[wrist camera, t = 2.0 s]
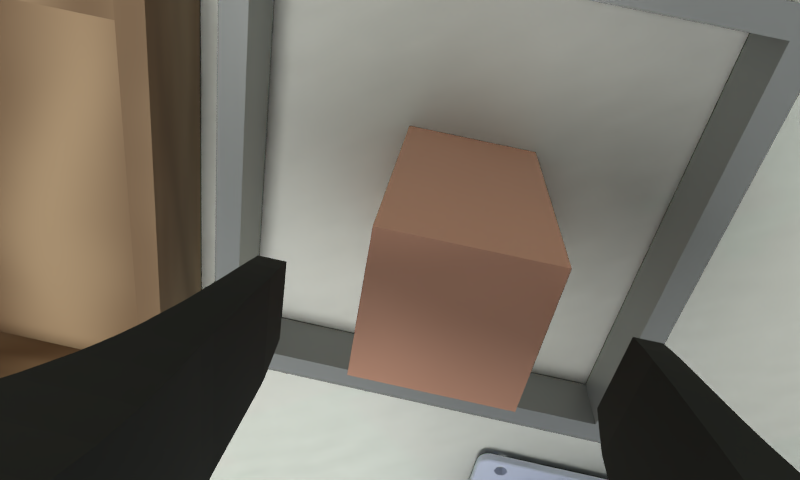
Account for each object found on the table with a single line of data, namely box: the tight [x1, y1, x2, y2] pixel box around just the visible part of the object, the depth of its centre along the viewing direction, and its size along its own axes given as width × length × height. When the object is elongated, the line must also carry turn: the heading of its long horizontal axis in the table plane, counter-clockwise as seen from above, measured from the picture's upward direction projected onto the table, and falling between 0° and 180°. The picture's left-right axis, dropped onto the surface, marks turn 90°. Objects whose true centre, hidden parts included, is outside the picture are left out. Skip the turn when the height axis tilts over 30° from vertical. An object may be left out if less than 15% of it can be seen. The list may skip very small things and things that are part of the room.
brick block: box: [347, 126, 572, 412], centre depth 15 cm, size 4×4×7 cm
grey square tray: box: [215, 0, 800, 443], centre depth 17 cm, size 15×15×2 cm
